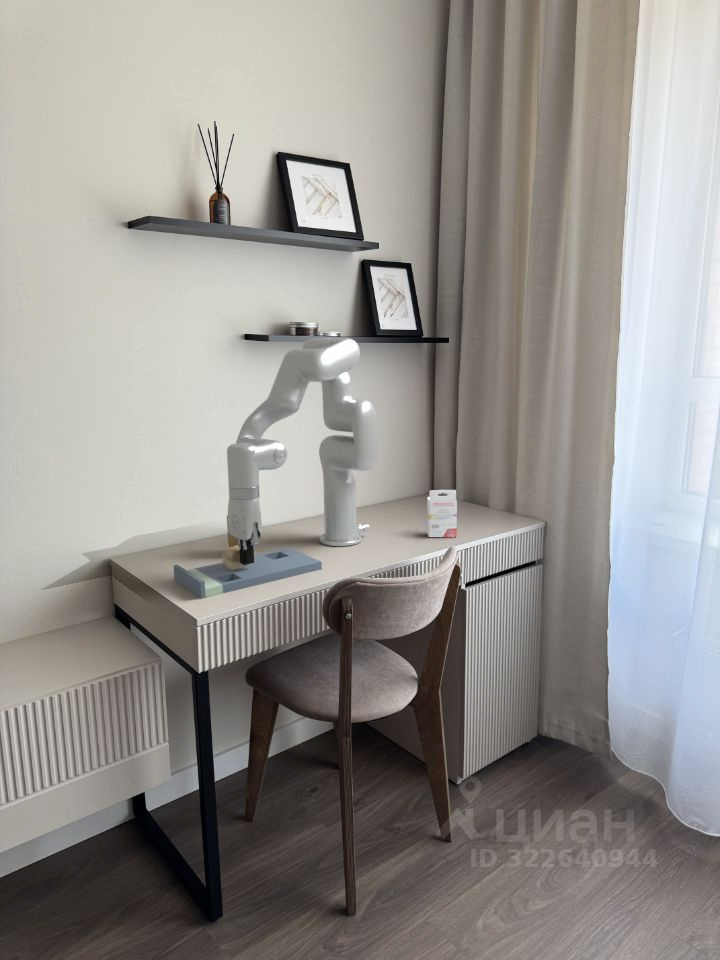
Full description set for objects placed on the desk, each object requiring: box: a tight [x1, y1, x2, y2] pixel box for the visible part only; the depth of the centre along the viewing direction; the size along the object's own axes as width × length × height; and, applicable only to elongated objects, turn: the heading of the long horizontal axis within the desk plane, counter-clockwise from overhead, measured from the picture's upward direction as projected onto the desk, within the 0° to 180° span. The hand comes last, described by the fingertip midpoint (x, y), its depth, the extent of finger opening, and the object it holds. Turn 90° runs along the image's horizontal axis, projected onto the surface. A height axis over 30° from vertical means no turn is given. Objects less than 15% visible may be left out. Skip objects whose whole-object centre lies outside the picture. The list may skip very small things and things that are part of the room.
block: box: [222, 546, 247, 570], centre depth 184 cm, size 4×4×4 cm
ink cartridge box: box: [426, 489, 458, 538], centre depth 215 cm, size 9×5×15 cm, turn 91°
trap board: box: [173, 547, 323, 599], centre depth 183 cm, size 34×16×4 cm, turn 127°
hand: (247, 563), depth 181 cm, fingers closed
